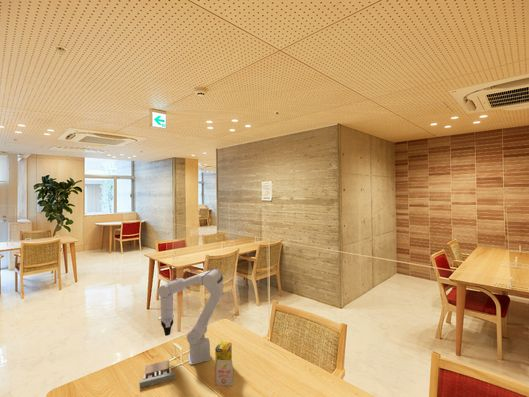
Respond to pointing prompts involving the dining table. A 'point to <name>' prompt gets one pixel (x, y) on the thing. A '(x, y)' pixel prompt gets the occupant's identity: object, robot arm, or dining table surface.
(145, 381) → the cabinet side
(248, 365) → the dining table surface
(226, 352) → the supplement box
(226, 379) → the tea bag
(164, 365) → the brown flat block
